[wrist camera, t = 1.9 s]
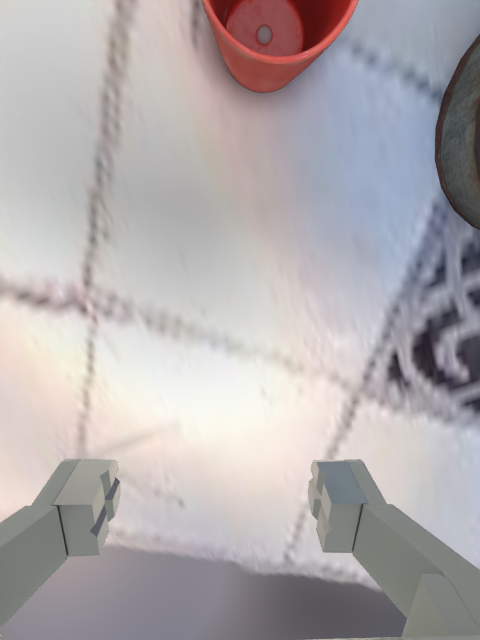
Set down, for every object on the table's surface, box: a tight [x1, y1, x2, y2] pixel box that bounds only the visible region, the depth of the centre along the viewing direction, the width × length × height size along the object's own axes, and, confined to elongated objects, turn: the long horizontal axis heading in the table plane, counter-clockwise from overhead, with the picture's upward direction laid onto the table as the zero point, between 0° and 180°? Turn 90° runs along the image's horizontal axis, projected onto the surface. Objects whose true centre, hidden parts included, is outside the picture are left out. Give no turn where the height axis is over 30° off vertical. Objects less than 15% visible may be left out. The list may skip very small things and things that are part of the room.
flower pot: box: [202, 0, 358, 93], centre depth 24 cm, size 11×11×10 cm
